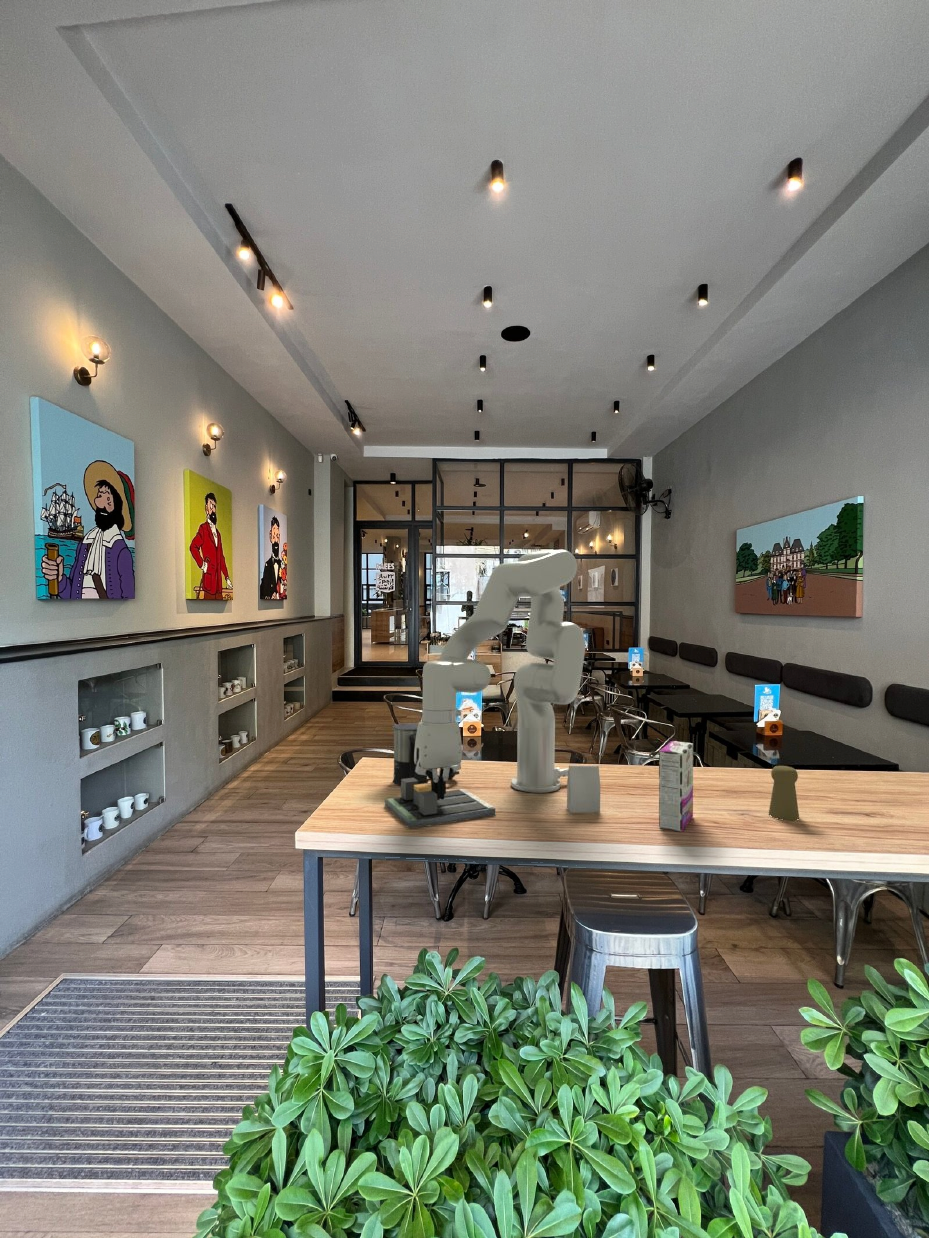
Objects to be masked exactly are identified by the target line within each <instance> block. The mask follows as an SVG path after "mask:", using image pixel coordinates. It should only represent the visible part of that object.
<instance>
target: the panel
mask: <svg viewBox="0 0 929 1238" xmlns="http://www.w3.org/2000/svg"><path fill="white" fill-rule="evenodd" d="M384 803H385V804H384V806H385V807H386V808H387V809H388V810H389V811H390V810H391V811H392V812H393V813H394V814H395V815H394V814H393V815H394V816H395V817H396V818H397V819H399V820H400V821H401V822H402V823H403V824H404V825H405V826H406V825H407V826H408V827H409V828H408V827H407V826H406V827H407V828H408V829H410V828H412V829H417V827H418V828H423V827H422V826H424V827H430V826H429V825H431V826H437V825H442V824H443V825H444V824H448V823H447V822H450V823H454V822H455V821H456V822H460V821H467V820H466V819H468V820H475V819H479V818H486V817H491V816H493V817H494V816H496V808H495V807H494V806H493V805H492V804H490V803H488V802H486V801H484V799H482V798H480V797H478V796H477V795H475V794H473V793H471V792H470V791H468V790H467V789H465V788H458V789H453V790H446V794H444V799H443V800H441V799H440V800H437V813H436V814H429V815H423V814H422V813H421V812H419V807H418V806H417V805H416V804H414V799H411V800H405V799H404V798H402V797H401V796H399V797H391V798H386V799H385V800H384ZM391 811H390V812H391ZM392 812H391V813H392ZM456 822H455V823H456Z"/></svg>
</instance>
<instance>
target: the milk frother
mask: <svg viewBox="0 0 929 1238" xmlns="http://www.w3.org/2000/svg"><path fill="white" fill-rule="evenodd" d="M418 724H419V722H417V723H414V722H413V723H412V722H410V723H409V722H407V723H398V724H394V725H393V726H392V728H393V779H392V783H393V784H394V785H396V786H400V787H401V779H407V778H415V779H416V780H417V781H418V784H425V783H426V784H428V782H429V781H430V782H431V780H430V779H429V778H428V777H427V776H426V775H420V774H417V773H416V772H415V770H416V766H417V765H416V764H415V762H414V751H415V741H416V734H417V728H418ZM457 775H460V770H458V771H455V772H453V773H452V774H451V775H450V776H449V777H448V780H447V781H450V780H453V779H454V778H455V776H457Z"/></svg>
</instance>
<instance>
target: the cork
mask: <svg viewBox="0 0 929 1238" xmlns="http://www.w3.org/2000/svg"><path fill="white" fill-rule="evenodd" d="M770 773H771V779H772V780H773V786H772V791H771V797H770V803H769V809H768V815H771V816H772V817H771V816H770V817H771V818H773V817H774V818H773V819H775V818H778V819H777V820H779V819H783V820H782V821H784V820H786V822H795V820H797V819H799V820H800V812H799V806H798V798H797V789H796V783H797V781H798V778H799V774H798V771H797V770H796V769H795V768H794V767H792V766H788V765H775V766H774V767H773V768H772V769H771V771H770ZM797 821H798V820H797Z"/></svg>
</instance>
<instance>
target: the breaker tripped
mask: <svg viewBox="0 0 929 1238" xmlns="http://www.w3.org/2000/svg"><path fill="white" fill-rule="evenodd" d="M425 791H431V785H429V784H428V783H425V784H417V785H414V804H416V805H417V806H418V807H419V792H425Z"/></svg>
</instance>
